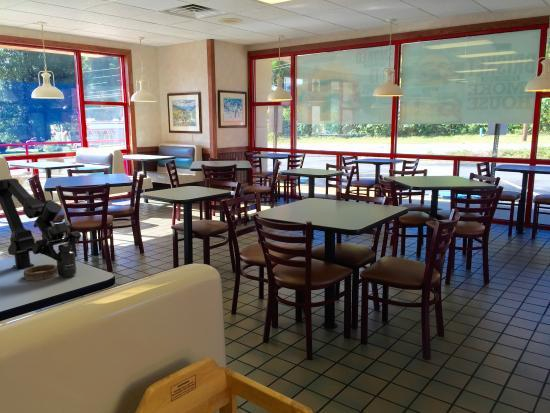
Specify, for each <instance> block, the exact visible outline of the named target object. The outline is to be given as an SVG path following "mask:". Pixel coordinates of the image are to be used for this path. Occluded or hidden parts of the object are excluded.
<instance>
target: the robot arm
mask: <svg viewBox="0 0 550 413" xmlns="http://www.w3.org/2000/svg"><path fill="white" fill-rule="evenodd" d="M13 197H14V198H15V199H16V200H17V201H18V202H19V203H20V204H21V206H22V211H23V213H24V214H25V216H26V217H27V219H35V220H34V224H33V227H34V228H38V229H39V231H40V233H41V238H42V239H38V240H36V241H35V237H34V236H33V233H32V230H30V229H26V228H25V227H24V224H23V222H22V220H21V217H20V215H19V212H18V210H17V206H16V205H15V202H14V199H13ZM0 206H1V209H2V212H3V214H4V216H5V220H6V221H7V224H8V226H9V229H10V232H11V234H10V238H9V241H10V245H9V246H8V248H7V252H8V255H10V256H14V263H15V264H14V265H12V268H14V269H17V270H21V269H25V268H26V269H27V268H30V267H34V266H35V264H34V263H31V256H30V255H31V254H30V252H32V253H33V255H39V254H40V255H44V256H47V257H48V258H51V259H53V260H54V261H56V262H57V261H58V262H60V261H61V259H60V257H59V256H58V254H57V253H58V252H57V251H56V250H55V248H54V246H57V245H61V244H71V245H72V249H71V250H72V251H74V252H75V258H77V257H78V254H77V253H78V252H77V248H76V244H77V243H79V240H80V239H81V238H82V236H83V235H82V234H81V233H80V231H77V230H76V231H72V232H69V230H70V229H72V225H71V222H70V221H69V220H66V221H64V222H62V223H60V224H59V223H58V224H55V222H54V221H56V220H57V218H58V216H59V214H60V212H61V211H62V206H61V204H59V203H57V202H55V201H52V200H51V199H47V200H45V202H43V201H41V200H40V199H38V198H35V197H33V196H32V195H31V193H29V192H28V191H27V189H25V187H24V186H22V184H21V183H20V181H19V179H18V178H7V179H6V178H4V179H3V178H2V179H0ZM66 232H68V235H67V236H65V235H66Z"/></svg>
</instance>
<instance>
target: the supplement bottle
mask: <svg viewBox="0 0 550 413" xmlns="http://www.w3.org/2000/svg"><path fill="white" fill-rule="evenodd" d="M57 247H58V248H57V249H58V250H57V252H56V253H57V254H58V256H59V257H60V259H61V261H60V262H58V261H56V266H57V270H58V274H57V275H58V276H59V277H62V278H66V277H72V276H75V275H76V274H77V262H76V259H77V258H76V257H75V252H74V251H72V250H71V249H72V245H71V244H66V243H61V244H58V246H57Z"/></svg>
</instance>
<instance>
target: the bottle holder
mask: <svg viewBox="0 0 550 413" xmlns="http://www.w3.org/2000/svg"><path fill="white" fill-rule="evenodd" d="M22 273H23V277H24V279H25V281H33V282H34V281H44V280H48V279H52V278H54V277H56V276H57V275H58V270H57V264H41V265H40V264H39V265H34V266H30V267H27V268H26V269H25V268H24V270H23V272H22Z"/></svg>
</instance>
